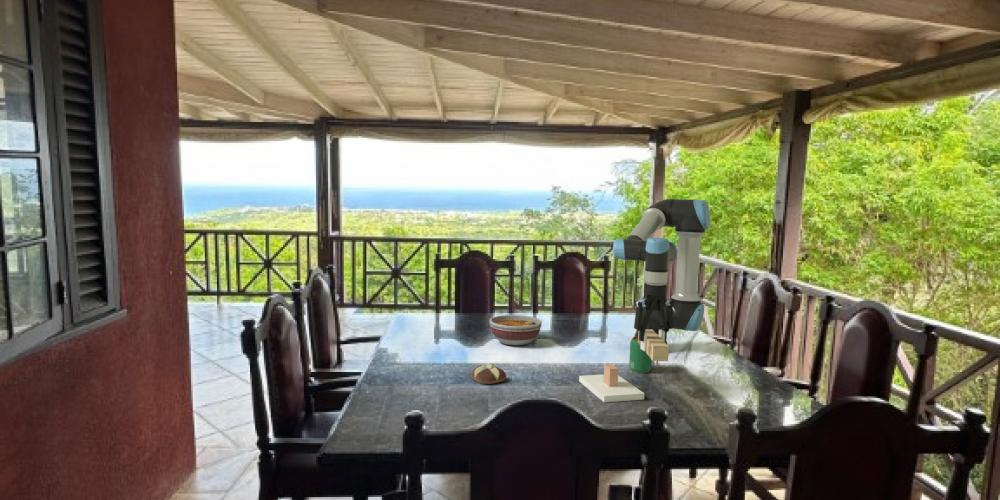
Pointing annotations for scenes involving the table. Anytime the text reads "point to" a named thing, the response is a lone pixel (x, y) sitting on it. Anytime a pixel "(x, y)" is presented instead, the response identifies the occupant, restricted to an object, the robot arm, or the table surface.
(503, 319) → the bowl
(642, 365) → the beverage can
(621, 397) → the fulcrum
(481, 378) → the bread
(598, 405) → the table surface
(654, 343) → the oak bar
